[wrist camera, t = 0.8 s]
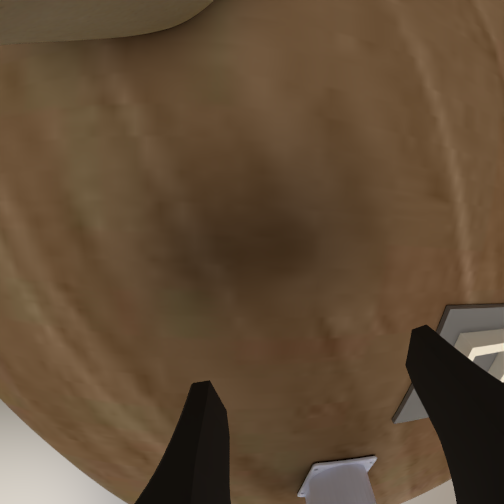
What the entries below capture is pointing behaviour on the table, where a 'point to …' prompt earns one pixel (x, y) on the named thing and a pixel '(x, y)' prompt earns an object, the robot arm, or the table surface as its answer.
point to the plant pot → (90, 18)
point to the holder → (465, 347)
